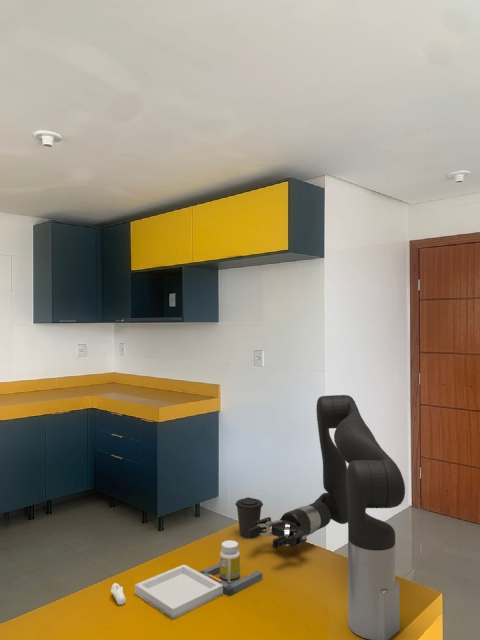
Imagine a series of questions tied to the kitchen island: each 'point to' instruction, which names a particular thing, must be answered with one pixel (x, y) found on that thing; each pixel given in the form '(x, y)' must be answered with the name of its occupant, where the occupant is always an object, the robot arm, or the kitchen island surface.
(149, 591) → the tray
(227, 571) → the supplement bottle
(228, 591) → the holder
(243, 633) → the kitchen island surface
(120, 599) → the small white plastic part
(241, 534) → the coffee cup
